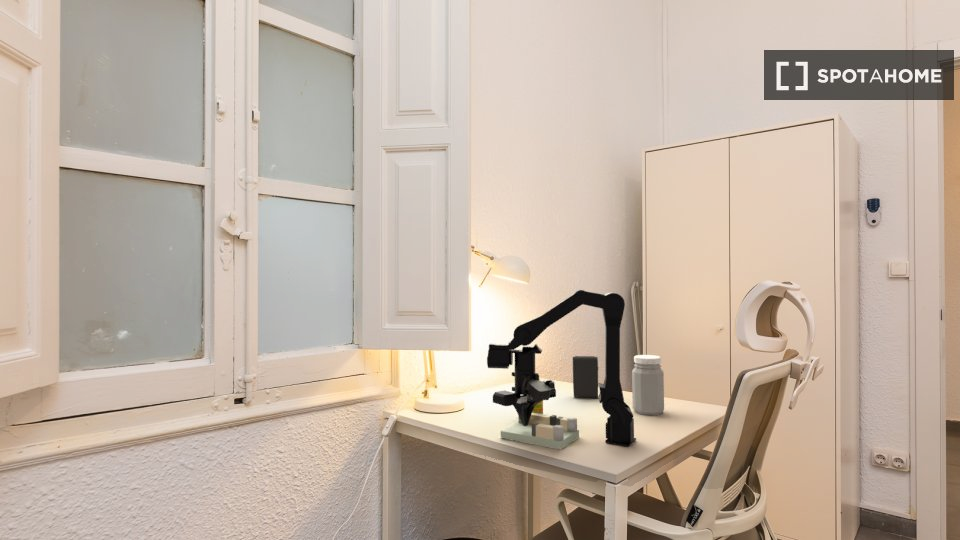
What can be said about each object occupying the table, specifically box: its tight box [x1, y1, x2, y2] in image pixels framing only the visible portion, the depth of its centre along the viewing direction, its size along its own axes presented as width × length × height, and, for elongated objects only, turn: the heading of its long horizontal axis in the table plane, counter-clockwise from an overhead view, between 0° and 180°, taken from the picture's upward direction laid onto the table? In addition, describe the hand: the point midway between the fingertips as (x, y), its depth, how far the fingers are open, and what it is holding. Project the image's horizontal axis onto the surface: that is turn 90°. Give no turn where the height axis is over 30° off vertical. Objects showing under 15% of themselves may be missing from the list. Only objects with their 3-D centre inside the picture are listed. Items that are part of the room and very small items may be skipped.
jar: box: [631, 354, 665, 416], centre depth 164 cm, size 10×10×18 cm
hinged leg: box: [517, 413, 558, 426], centre depth 144 cm, size 12×3×3 cm, turn 56°
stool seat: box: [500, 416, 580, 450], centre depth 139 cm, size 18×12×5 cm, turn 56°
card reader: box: [572, 355, 599, 399], centre depth 185 cm, size 9×4×15 cm, turn 82°
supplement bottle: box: [532, 400, 544, 414], centre depth 162 cm, size 5×5×10 cm
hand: (525, 425), depth 139 cm, fingers closed
